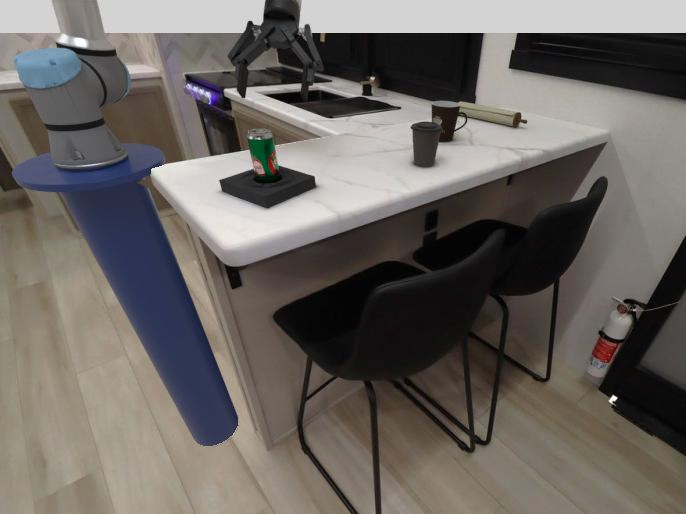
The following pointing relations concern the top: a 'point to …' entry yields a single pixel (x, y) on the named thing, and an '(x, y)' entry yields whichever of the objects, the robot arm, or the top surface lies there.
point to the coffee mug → (446, 118)
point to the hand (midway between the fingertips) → (272, 96)
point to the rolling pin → (491, 114)
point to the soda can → (263, 155)
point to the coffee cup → (425, 142)
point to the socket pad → (268, 186)
